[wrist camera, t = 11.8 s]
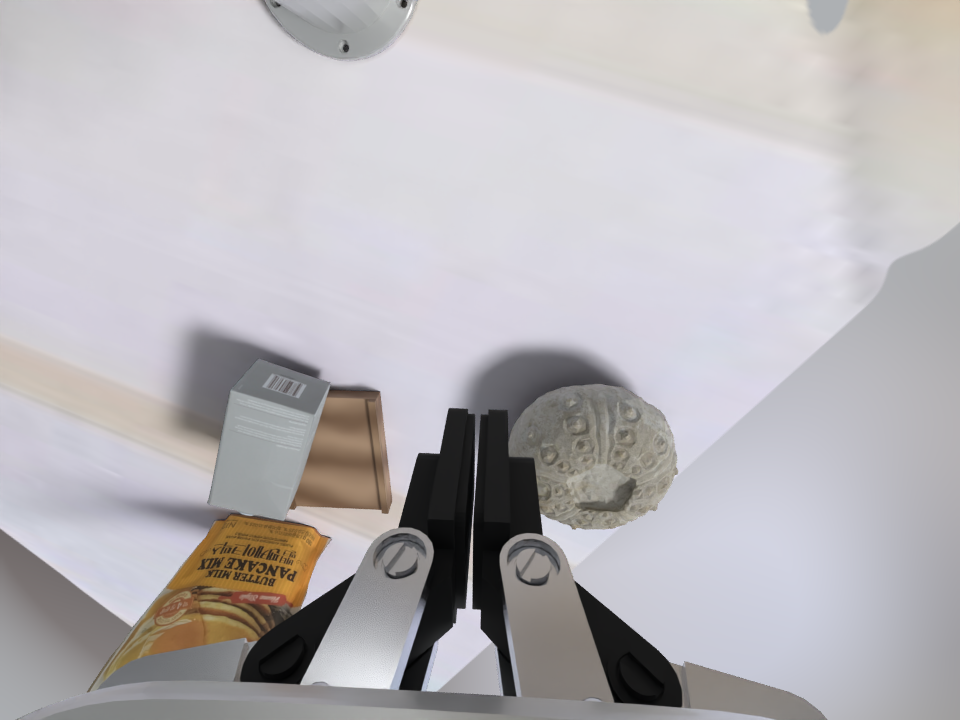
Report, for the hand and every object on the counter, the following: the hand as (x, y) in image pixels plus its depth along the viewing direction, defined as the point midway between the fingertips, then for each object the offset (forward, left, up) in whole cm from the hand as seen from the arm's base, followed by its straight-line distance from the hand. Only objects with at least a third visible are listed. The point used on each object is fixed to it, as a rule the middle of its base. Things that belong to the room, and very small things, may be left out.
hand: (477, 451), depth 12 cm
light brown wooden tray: (+26, -19, -31) cm, 45 cm away
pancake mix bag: (+42, -30, -31) cm, 60 cm away
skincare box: (+14, -20, -26) cm, 36 cm away
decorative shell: (+22, +11, -31) cm, 40 cm away
